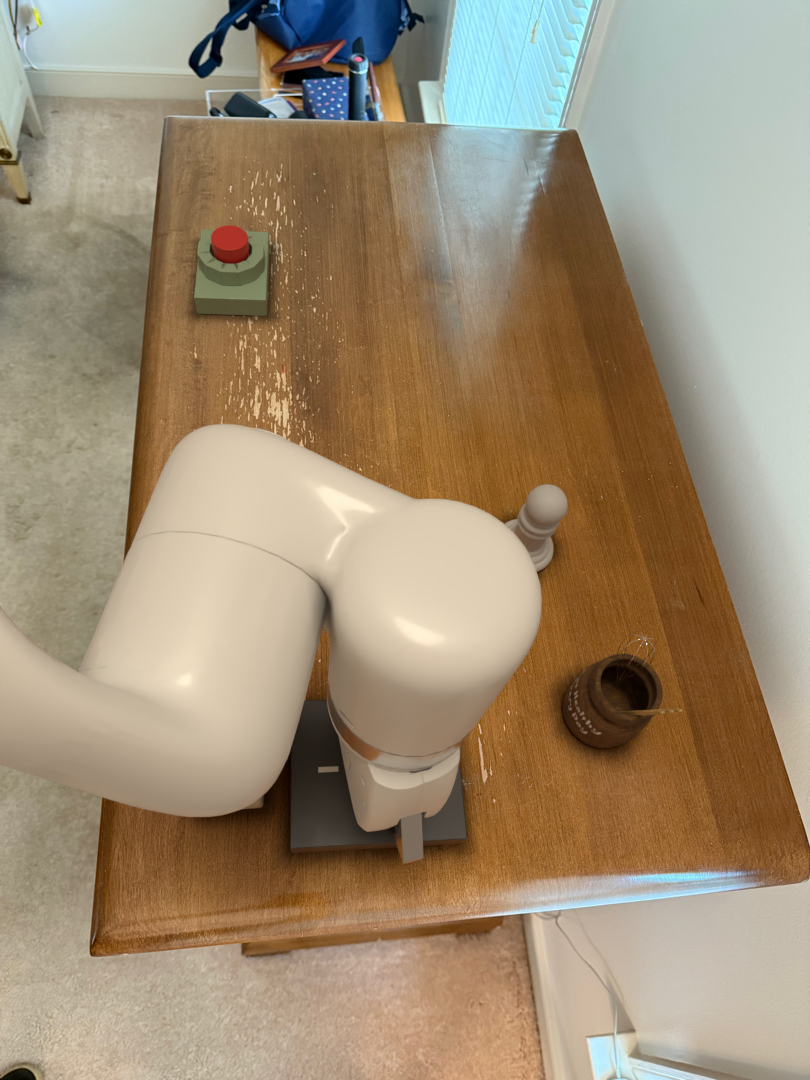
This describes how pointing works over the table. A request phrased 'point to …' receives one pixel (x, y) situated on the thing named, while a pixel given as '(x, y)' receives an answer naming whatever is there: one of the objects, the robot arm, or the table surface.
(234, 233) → the power button
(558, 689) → the table surface
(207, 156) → the table surface
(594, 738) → the utensil holder
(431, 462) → the table surface
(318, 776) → the panel
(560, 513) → the chess piece
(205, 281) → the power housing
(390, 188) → the table surface
